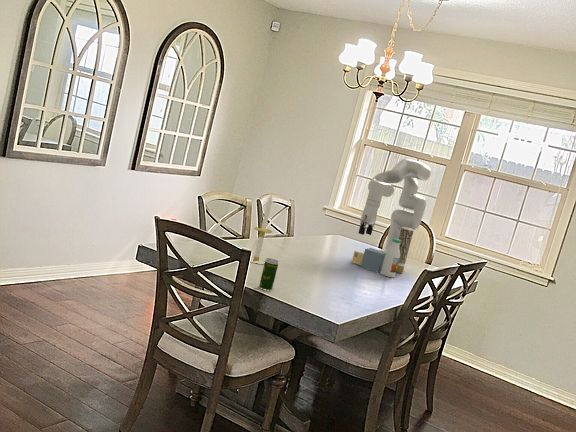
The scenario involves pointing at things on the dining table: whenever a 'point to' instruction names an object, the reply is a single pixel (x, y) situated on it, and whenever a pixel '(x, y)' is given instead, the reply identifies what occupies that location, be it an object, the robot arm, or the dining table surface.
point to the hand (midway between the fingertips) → (364, 234)
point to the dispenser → (373, 259)
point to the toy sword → (262, 230)
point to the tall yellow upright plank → (357, 257)
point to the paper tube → (404, 247)
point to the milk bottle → (391, 259)
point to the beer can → (268, 274)
